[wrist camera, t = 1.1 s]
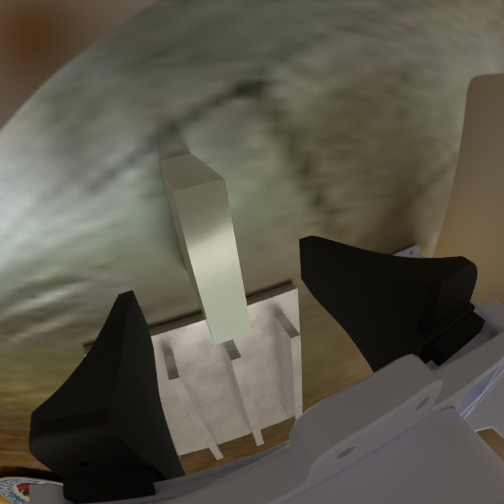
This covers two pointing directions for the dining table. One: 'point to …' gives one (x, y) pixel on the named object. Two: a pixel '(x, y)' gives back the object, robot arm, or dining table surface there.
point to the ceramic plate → (20, 488)
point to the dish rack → (230, 374)
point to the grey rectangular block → (207, 244)
